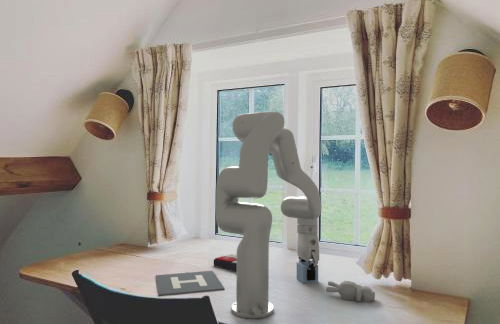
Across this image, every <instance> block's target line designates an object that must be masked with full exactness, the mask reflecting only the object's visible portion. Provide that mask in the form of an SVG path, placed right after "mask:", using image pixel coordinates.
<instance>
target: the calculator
mask: <svg viewBox="0 0 500 324" xmlns="http://www.w3.org/2000/svg"><path fill="white" fill-rule="evenodd" d="M213 266H214V267H216V266H217V268H220V267H221V269H225V270H228V271H229V270H230V271H232V272H234V271H235V273H237V254H235V253H234V254H232V253H231V254H230V253H229V254H226V255H222V256H218V257H215V258H214V259H213Z"/></svg>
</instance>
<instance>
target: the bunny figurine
mask: <svg viewBox="0 0 500 324" xmlns="http://www.w3.org/2000/svg"><path fill="white" fill-rule="evenodd" d="M325 292H327V293H338V294H339V295H340V297H341V299H343V300H344V301H351V302H353V301H357V302H361V303H367V304H368V303H370V302H373V301H375V299H376V298H375V296H376V291H373V290H372V289H371V287H369V286H367V285H361V284H357V283H356V282H354V281H351V280H344V281H342V282H340V283H336V282H334V281H330V280H329V281H327V286H326V287H325Z"/></svg>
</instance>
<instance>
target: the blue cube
mask: <svg viewBox="0 0 500 324" xmlns="http://www.w3.org/2000/svg"><path fill="white" fill-rule="evenodd" d="M311 263H313V262H311ZM311 263H310V265H311ZM307 269H308V266H307V262H299V261H298V262H296V279H297V280H298V281H300V282H301V283H302V284H311V283H319V265H318V264H317V266H316V279H315V280H310V281H308V280H307Z"/></svg>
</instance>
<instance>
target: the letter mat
mask: <svg viewBox="0 0 500 324" xmlns="http://www.w3.org/2000/svg"><path fill="white" fill-rule="evenodd" d="M155 279H156V285H157V286H156V287H157V292H158V297H162V296H175V295H183V294H185V295H186V294H193V293H194V294H196V293H204V292H215V291H216V292H217V291H225V287H224V285H223V284H222V283H221V281H220V280H219V278H218V277H217V275H216V273H215V272H214V270H204V271H193V272H192V271H191V272H178V273H166V274H156V275H155Z"/></svg>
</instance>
